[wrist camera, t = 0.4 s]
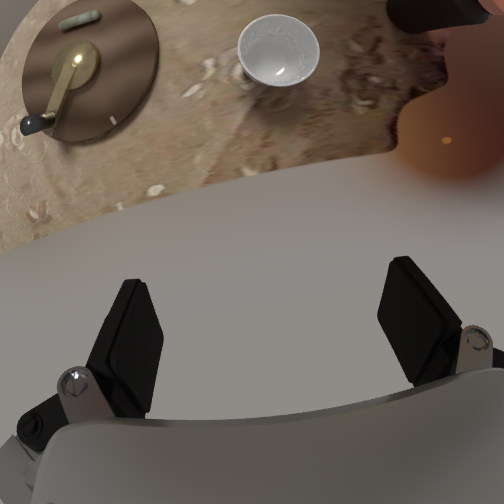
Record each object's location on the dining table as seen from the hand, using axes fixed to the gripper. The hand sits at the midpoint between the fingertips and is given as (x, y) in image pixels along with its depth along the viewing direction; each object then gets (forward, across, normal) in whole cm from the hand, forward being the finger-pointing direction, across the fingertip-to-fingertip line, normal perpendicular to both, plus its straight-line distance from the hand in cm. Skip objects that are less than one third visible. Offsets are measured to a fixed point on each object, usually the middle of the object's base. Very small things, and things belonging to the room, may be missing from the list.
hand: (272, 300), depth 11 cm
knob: (+28, +23, -14) cm, 38 cm away
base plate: (+30, +21, -16) cm, 40 cm away
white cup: (+30, -4, -12) cm, 33 cm away
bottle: (+30, -25, -22) cm, 45 cm away
